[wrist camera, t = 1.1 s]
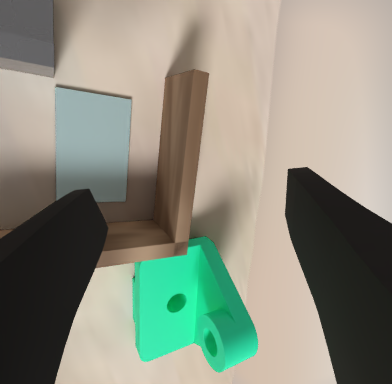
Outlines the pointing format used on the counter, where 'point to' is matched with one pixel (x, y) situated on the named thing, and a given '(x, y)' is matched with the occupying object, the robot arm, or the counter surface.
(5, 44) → the bracket
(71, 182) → the pad
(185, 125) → the corner walls
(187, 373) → the counter surface
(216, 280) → the camera mount
